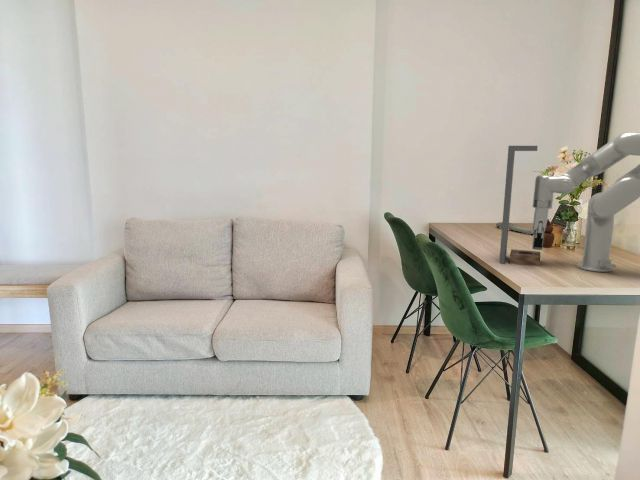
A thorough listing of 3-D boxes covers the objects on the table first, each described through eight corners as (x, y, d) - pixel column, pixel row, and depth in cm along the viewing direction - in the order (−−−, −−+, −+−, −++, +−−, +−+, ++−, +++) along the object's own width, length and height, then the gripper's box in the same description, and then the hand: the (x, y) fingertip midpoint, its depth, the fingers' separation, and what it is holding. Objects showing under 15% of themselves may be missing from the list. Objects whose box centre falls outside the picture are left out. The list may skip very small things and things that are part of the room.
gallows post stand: (527, 258, 218) (537, 146, 209) (526, 265, 203) (537, 145, 194) (501, 256, 222) (510, 146, 213) (499, 263, 208) (508, 145, 199)
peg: (544, 249, 207) (546, 231, 205) (536, 250, 206) (538, 231, 204) (537, 247, 210) (539, 229, 209) (530, 248, 209) (532, 230, 208)
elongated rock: (530, 238, 278) (543, 238, 282) (531, 229, 277) (545, 230, 281) (491, 226, 311) (503, 226, 314) (492, 218, 310) (504, 218, 313)
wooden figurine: (544, 248, 242) (547, 218, 240) (536, 246, 248) (539, 217, 245) (555, 247, 244) (558, 218, 242) (547, 245, 250) (550, 216, 247)
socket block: (539, 260, 214) (540, 251, 213) (539, 266, 203) (540, 256, 202) (510, 257, 219) (511, 249, 218) (509, 263, 208) (510, 254, 207)
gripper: (532, 202, 213) (528, 242, 217) (532, 205, 198) (528, 248, 202) (551, 203, 210) (546, 244, 214) (552, 206, 195) (547, 250, 199)
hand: (537, 245), depth 208 cm, fingers closed on peg, 4 cm apart
